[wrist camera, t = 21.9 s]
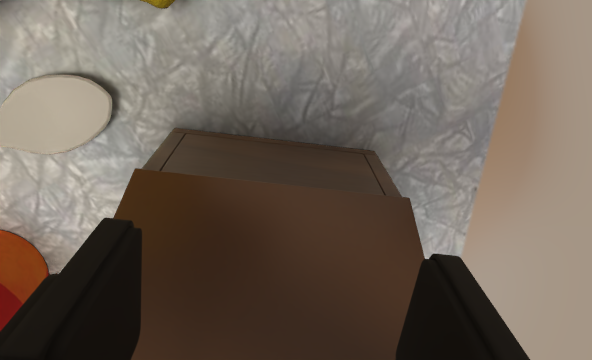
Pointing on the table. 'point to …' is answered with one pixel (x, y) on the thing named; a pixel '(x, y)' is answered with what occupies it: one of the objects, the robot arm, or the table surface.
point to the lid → (269, 269)
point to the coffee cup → (18, 273)
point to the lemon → (159, 3)
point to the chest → (272, 162)
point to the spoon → (54, 114)
